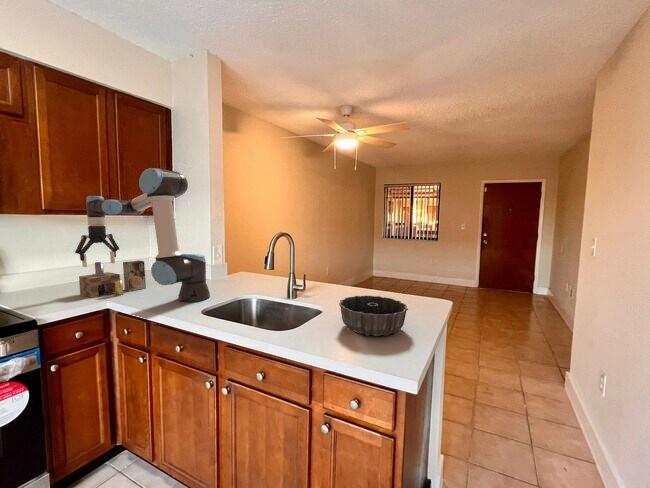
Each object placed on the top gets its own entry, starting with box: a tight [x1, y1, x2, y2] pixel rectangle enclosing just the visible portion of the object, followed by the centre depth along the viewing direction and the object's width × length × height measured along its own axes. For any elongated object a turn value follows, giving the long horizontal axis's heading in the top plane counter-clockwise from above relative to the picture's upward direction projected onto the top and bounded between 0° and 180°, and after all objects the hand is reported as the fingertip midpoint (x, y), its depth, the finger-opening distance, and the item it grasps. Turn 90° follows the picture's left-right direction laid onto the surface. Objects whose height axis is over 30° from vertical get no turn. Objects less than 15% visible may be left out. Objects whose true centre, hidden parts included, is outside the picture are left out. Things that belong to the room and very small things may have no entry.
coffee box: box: [122, 260, 147, 292], centre depth 178 cm, size 9×6×16 cm
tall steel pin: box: [94, 261, 106, 295], centre depth 168 cm, size 4×4×17 cm
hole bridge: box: [78, 271, 121, 299], centre depth 168 cm, size 12×14×10 cm
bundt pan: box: [338, 295, 409, 337], centre depth 122 cm, size 26×26×10 cm
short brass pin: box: [114, 279, 124, 297], centre depth 165 cm, size 4×4×8 cm
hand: (99, 264), depth 167 cm, fingers open, 13 cm apart
